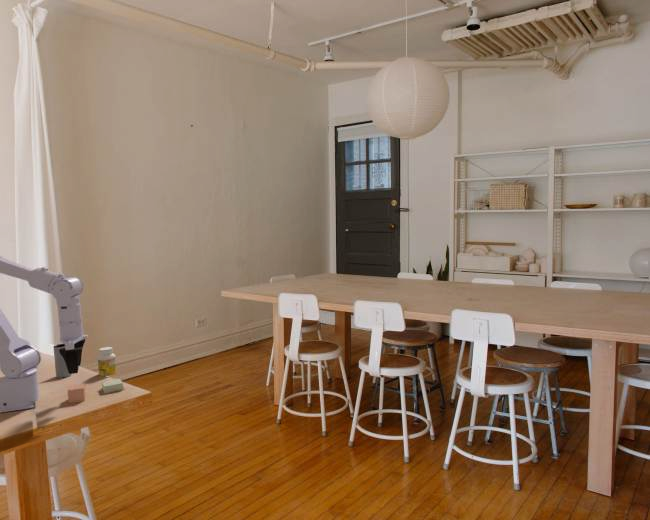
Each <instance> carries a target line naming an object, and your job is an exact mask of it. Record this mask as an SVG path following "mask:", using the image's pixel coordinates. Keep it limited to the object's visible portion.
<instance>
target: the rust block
mask: <svg viewBox="0 0 650 520" xmlns="http://www.w3.org/2000/svg"><path fill="white" fill-rule="evenodd" d="M86 393H87V392H86V384H85V383H82V384H75V385H69V386H68V388H67V399H68V404H72V403H78V402H85V401H86V397H87V394H86Z"/></svg>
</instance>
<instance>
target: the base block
mask: <svg viewBox="0 0 650 520" xmlns="http://www.w3.org/2000/svg"><path fill="white" fill-rule="evenodd" d="M100 391H101V393H102V395H106V394H112V393H116V392H118V393H119V392H122V391H126V389H125V387H124V386H123V390H119V391H114V392H109V393H104V391H103V389H102V387H101V388H100Z"/></svg>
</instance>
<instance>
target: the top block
mask: <svg viewBox="0 0 650 520" xmlns="http://www.w3.org/2000/svg"><path fill="white" fill-rule="evenodd" d="M123 387H124V383H123V382H122V380H121V378H116V379H111V380H104V381H101V388H102V389H103V391H104V393H107V394H110V393H109V392H113V393H115V392H114V391H118V392H120V391H119V390H123ZM123 391H124V390H123Z"/></svg>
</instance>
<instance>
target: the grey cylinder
mask: <svg viewBox="0 0 650 520" xmlns="http://www.w3.org/2000/svg"><path fill="white" fill-rule="evenodd" d="M62 348H65V346H64V344H63V343H60V344H55V345H54V346H53V356H54V367H55V378H58V379H62V378H63V377H64V378H69V377H71V376H72V374H69V372H68V370H67V366H66V363H65V361H64V359H63V357H62V355H61V354H60V353H59V349H62ZM64 378H63V379H64Z"/></svg>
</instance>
